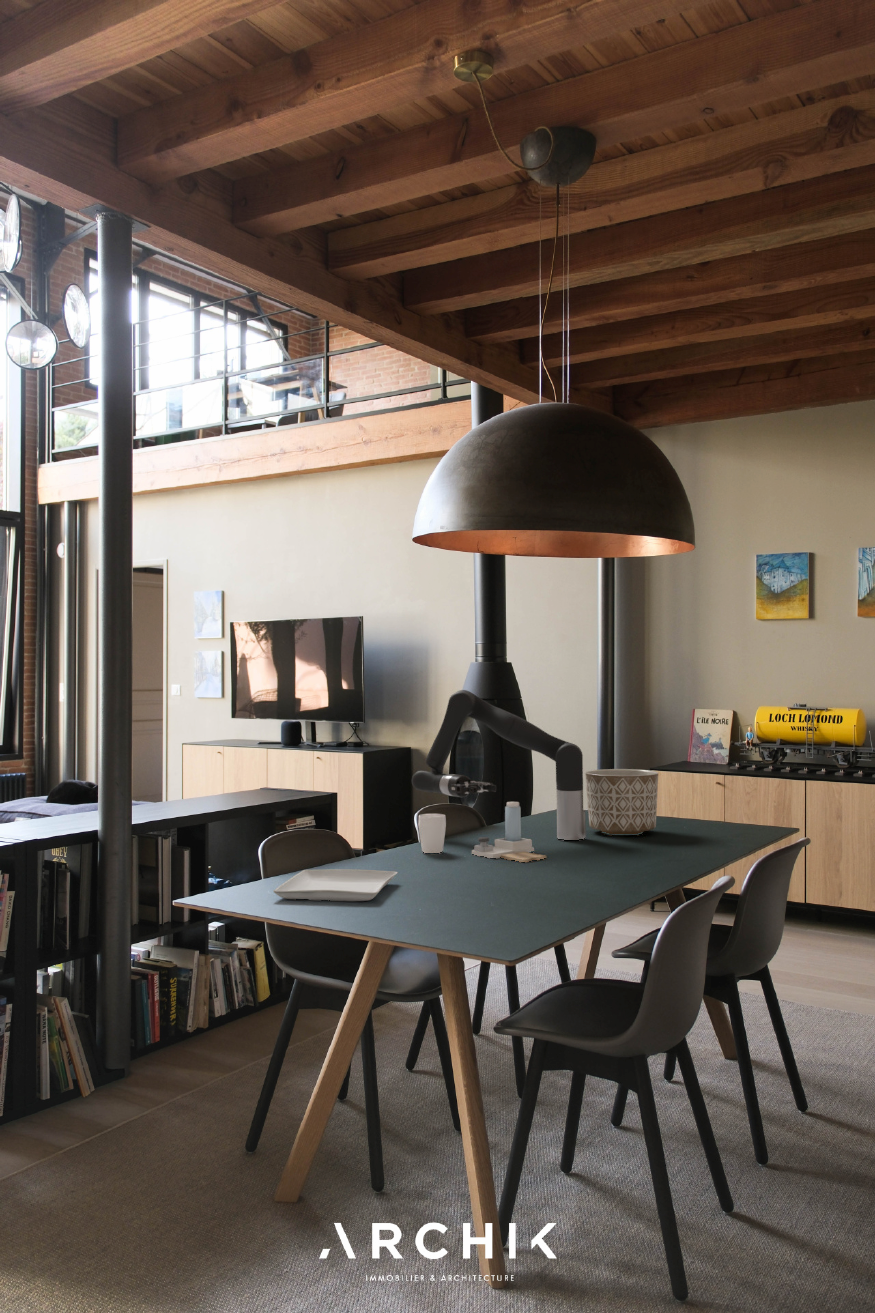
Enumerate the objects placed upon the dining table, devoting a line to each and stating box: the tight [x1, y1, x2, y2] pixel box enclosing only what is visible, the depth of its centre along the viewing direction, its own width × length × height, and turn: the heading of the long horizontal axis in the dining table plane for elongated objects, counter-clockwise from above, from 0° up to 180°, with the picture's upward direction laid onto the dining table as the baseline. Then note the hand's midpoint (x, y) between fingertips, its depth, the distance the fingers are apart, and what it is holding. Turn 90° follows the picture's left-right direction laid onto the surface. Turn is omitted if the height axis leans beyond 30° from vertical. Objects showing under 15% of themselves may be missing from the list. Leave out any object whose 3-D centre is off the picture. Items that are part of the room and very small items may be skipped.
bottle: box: [504, 801, 522, 842], centre depth 320 cm, size 5×5×14 cm
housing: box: [471, 837, 535, 859], centre depth 317 cm, size 18×10×4 cm, turn 129°
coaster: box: [500, 852, 547, 863], centre depth 308 cm, size 10×10×1 cm
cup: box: [417, 813, 447, 854], centre depth 321 cm, size 9×9×12 cm
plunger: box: [477, 836, 490, 847], centre depth 315 cm, size 3×3×4 cm
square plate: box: [273, 868, 398, 902], centre depth 262 cm, size 27×27×4 cm
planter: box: [584, 768, 659, 834], centre depth 357 cm, size 26×26×22 cm
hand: (486, 789), depth 331 cm, fingers open, 8 cm apart
